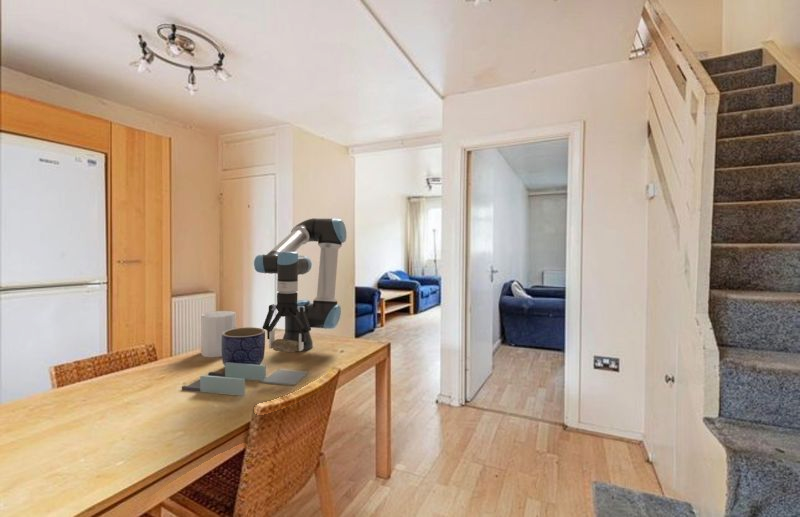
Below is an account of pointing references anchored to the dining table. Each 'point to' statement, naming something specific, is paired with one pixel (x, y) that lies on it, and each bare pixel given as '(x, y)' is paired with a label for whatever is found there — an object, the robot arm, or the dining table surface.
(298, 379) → the pad
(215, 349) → the container
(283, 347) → the rock
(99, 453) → the dining table surface
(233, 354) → the planter
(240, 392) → the trough
